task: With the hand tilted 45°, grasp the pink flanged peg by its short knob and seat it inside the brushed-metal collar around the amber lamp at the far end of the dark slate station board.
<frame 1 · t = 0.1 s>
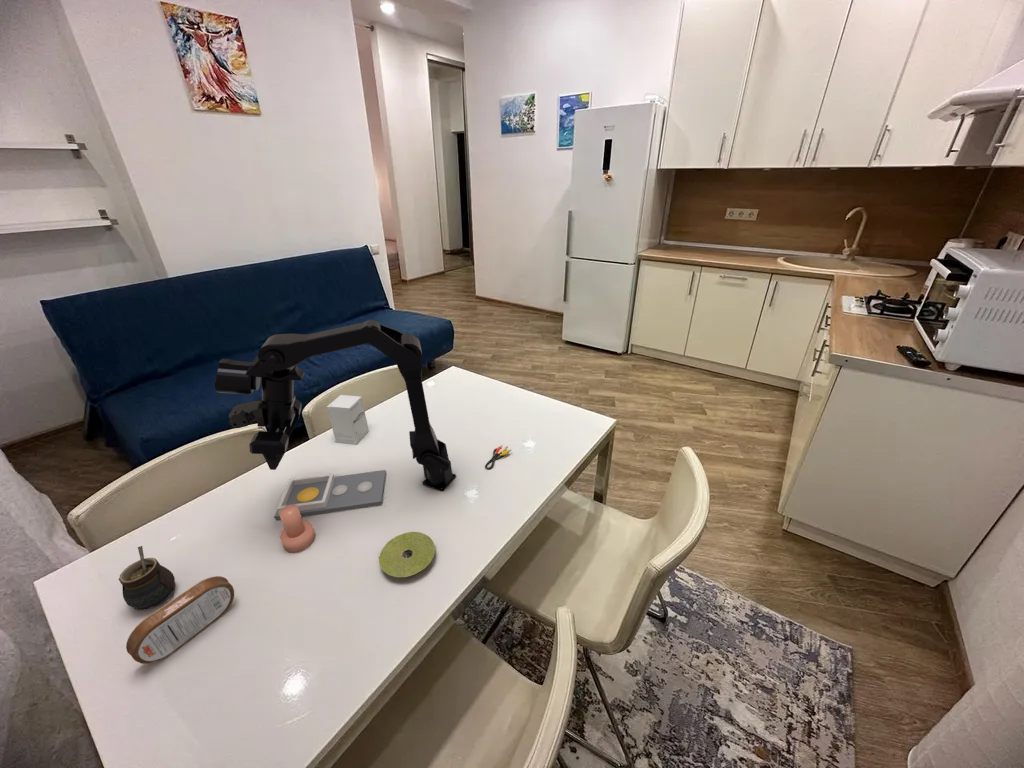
hand: (278, 456, 91), 15 cm above the table, tool pointing down, fingers open, 9 cm apart
green disc: (408, 560, 84), on the table
station board: (334, 495, 102), on the table
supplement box: (353, 437, 124), on the table
composite cable: (494, 460, 114), on the table
tin: (195, 633, 72), on the table
mate gourd: (156, 597, 78), on the table
pink flanged peg: (299, 541, 89), on the table
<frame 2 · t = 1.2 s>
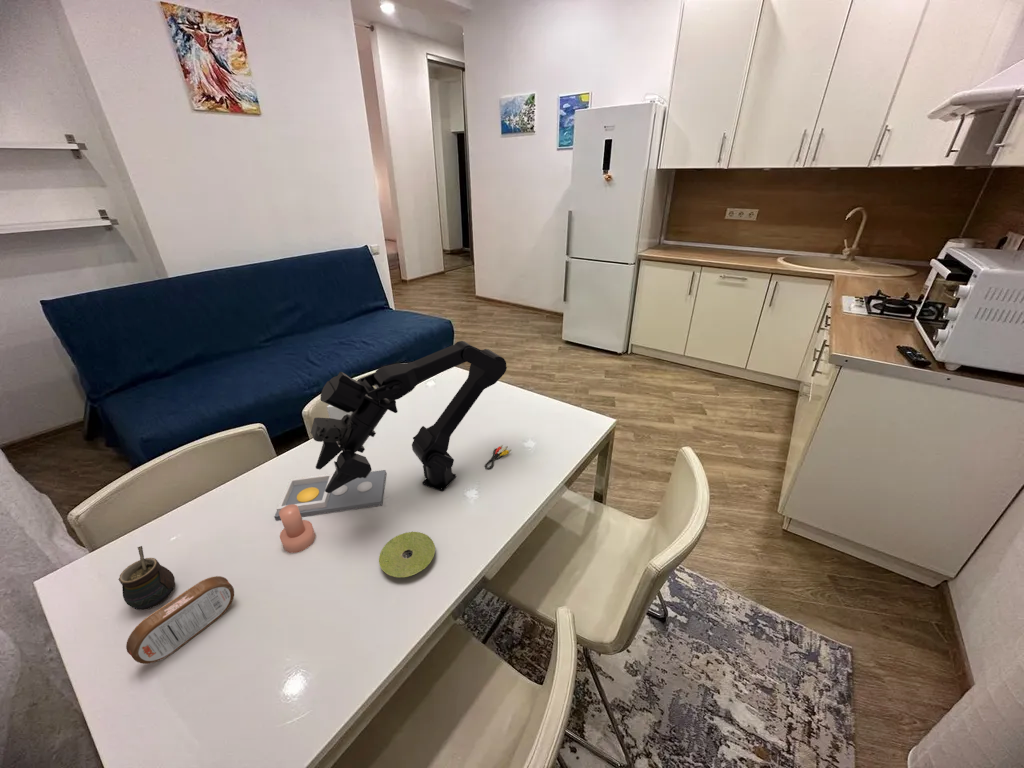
hand: (322, 480, 87), 13 cm above the table, tool tilted 45°, fingers open, 9 cm apart
nothing on the table moved.
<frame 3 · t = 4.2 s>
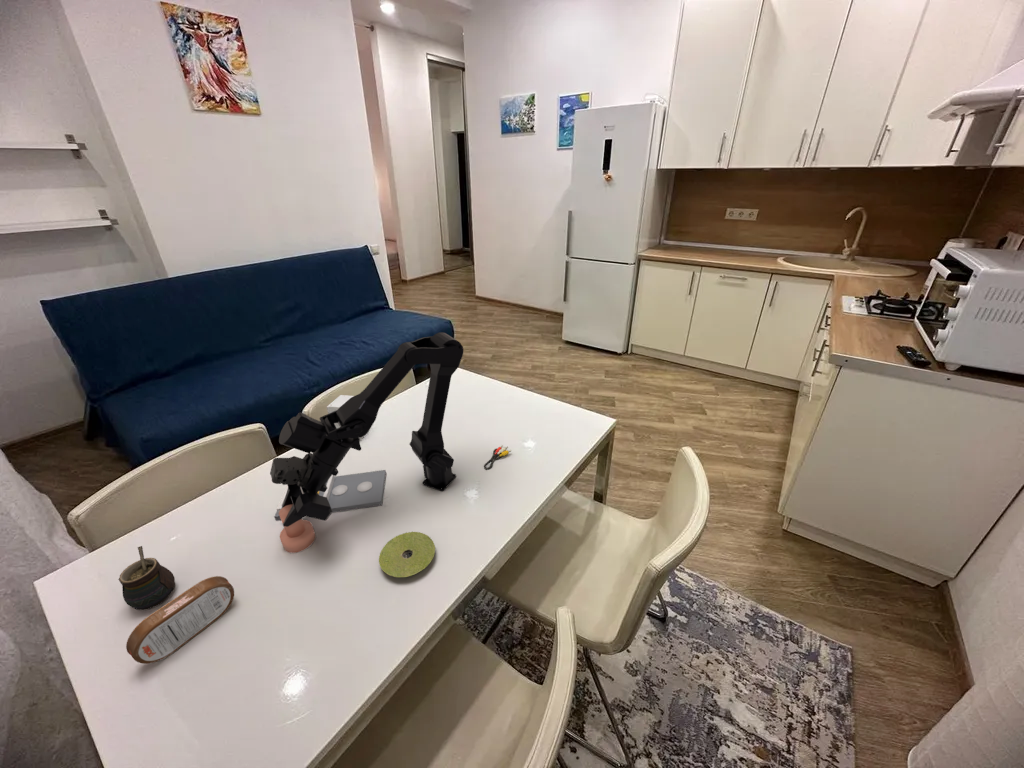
hand: (283, 519, 85), 7 cm above the table, tool tilted 45°, fingers closed on pink flanged peg, 4 cm apart
pink flanged peg: (299, 540, 89), on the table, touching gripper
everything else where it was.
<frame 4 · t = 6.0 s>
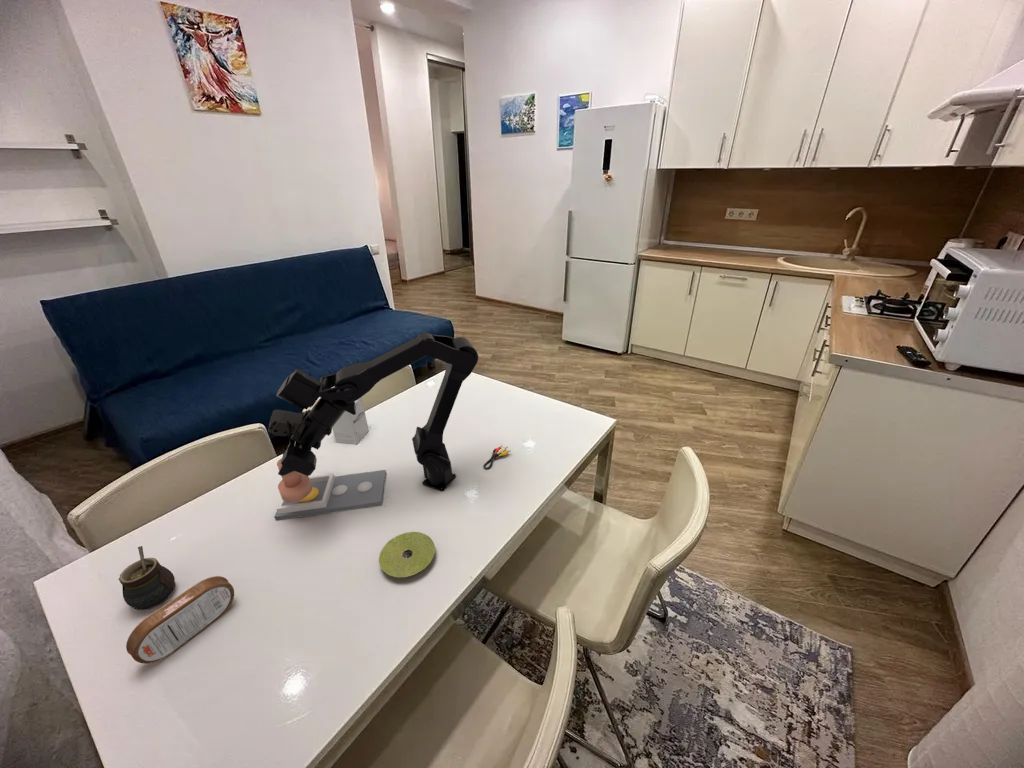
hand: (281, 469, 90), 13 cm above the table, tool tilted 45°, fingers closed on pink flanged peg, 4 cm apart
pink flanged peg: (297, 492, 94), point 6 cm above the table, touching gripper
everything else where it was.
when the fingers open (10 cm above the table, at t = 7.6 s): pink flanged peg drops 2 cm, resting on station board.
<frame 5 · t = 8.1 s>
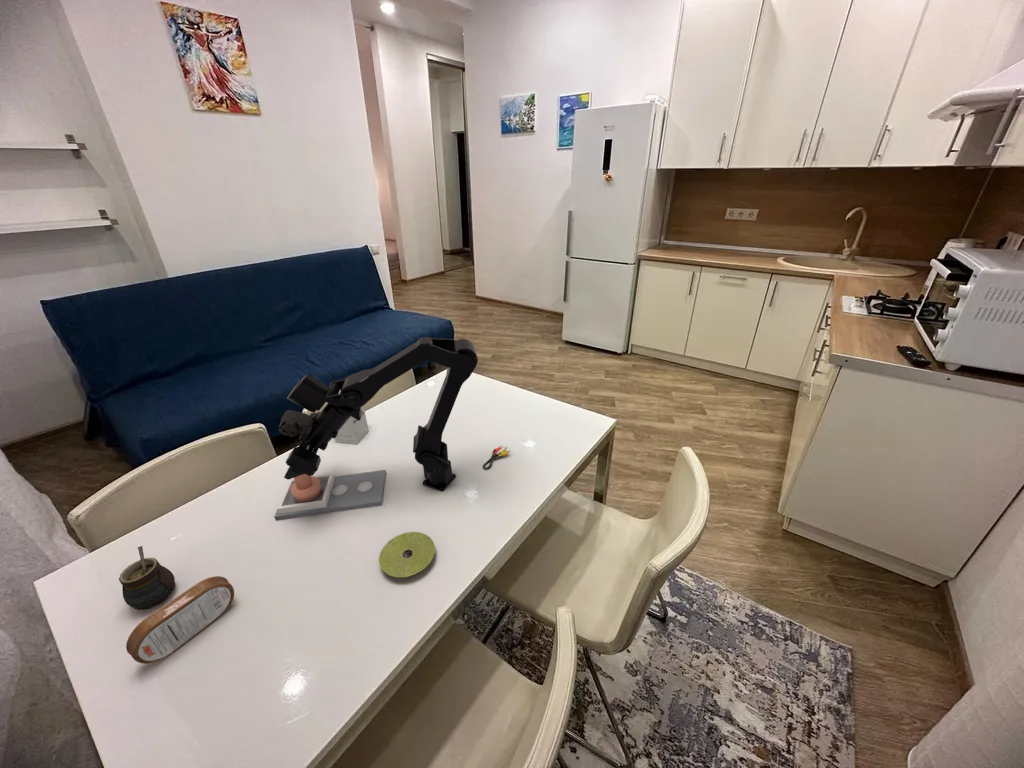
hand: (291, 465, 96), 11 cm above the table, tool tilted 45°, fingers open, 9 cm apart
pink flanged peg: (308, 494, 100), point 1 cm above the table, touching station board
everything else where it was.
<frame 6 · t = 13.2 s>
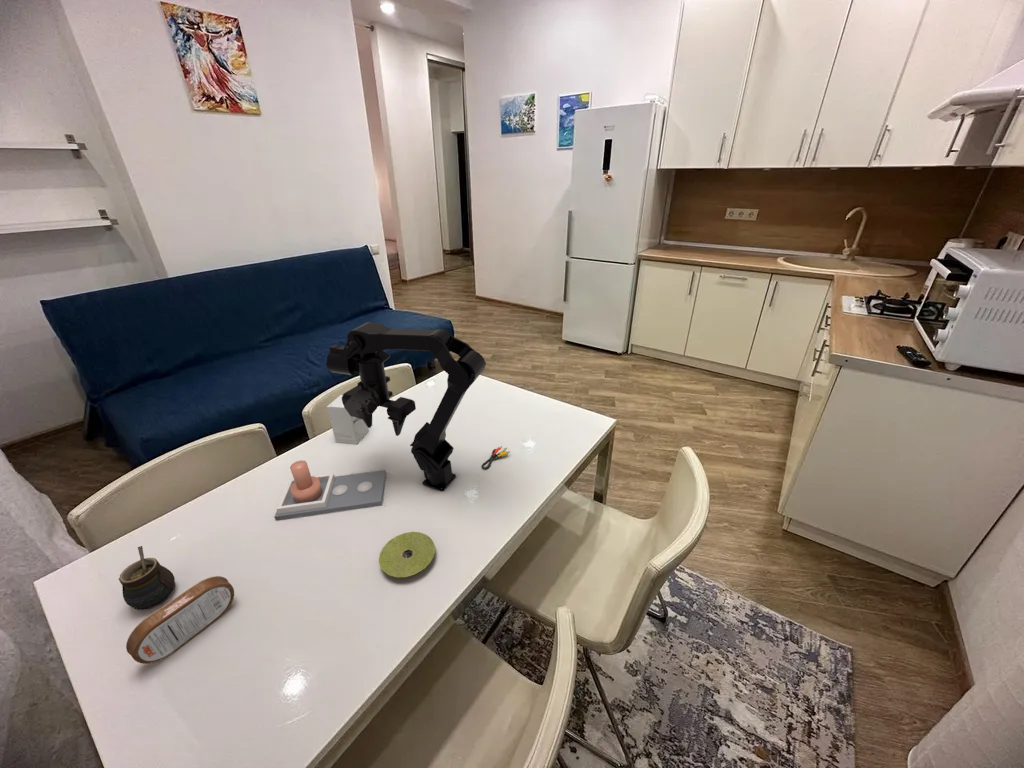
hand: (383, 431, 103), 13 cm above the table, tool pointing down, fingers open, 9 cm apart
nothing on the table moved.
at the end: pink flanged peg 0.1 cm from the target spot on the station board, point 1.5 cm above the station board's base; pink flanged peg tilted 0°; the gripper is holding nothing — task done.
